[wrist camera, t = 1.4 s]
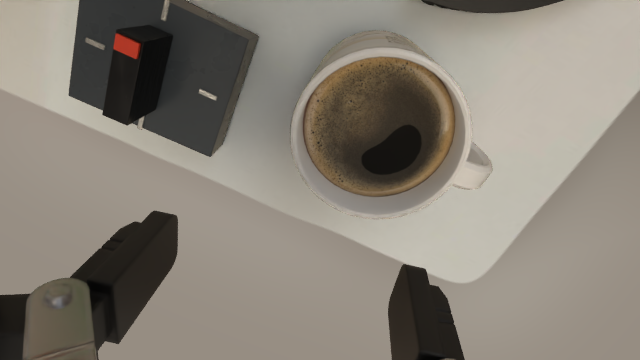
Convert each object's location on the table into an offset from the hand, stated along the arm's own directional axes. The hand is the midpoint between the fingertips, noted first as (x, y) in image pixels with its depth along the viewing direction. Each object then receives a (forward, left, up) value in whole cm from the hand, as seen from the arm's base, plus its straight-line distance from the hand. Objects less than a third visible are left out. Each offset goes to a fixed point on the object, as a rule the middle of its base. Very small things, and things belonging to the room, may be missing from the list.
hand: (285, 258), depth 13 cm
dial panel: (-8, -10, -20) cm, 24 cm away
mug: (+2, +4, -20) cm, 20 cm away
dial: (-8, -10, -17) cm, 22 cm away
